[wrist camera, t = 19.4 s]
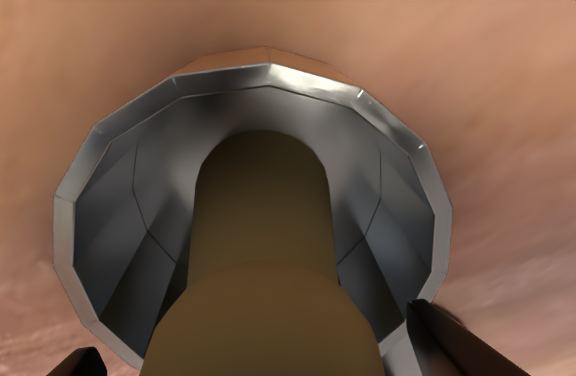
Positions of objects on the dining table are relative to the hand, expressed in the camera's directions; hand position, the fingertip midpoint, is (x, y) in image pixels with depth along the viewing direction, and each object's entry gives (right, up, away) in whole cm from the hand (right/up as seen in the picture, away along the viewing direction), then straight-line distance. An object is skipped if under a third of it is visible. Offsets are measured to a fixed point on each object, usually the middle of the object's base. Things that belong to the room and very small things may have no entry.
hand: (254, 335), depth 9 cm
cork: (0, +3, +7) cm, 8 cm away
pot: (0, +4, +8) cm, 9 cm away
